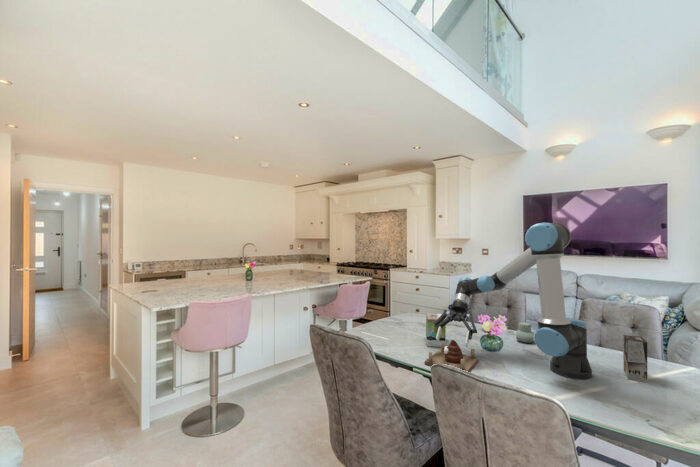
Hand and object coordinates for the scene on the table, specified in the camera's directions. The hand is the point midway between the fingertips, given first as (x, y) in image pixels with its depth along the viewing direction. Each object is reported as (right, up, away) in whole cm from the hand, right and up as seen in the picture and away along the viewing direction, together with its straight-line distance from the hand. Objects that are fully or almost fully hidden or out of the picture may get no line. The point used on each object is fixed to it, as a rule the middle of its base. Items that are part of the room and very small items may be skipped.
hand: (451, 342), depth 149 cm
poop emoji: (+1, -8, 0) cm, 8 cm away
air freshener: (+51, -10, +30) cm, 60 cm away
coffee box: (+72, -9, -16) cm, 74 cm away
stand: (0, -9, 0) cm, 9 cm away
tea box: (0, -10, +29) cm, 30 cm away
